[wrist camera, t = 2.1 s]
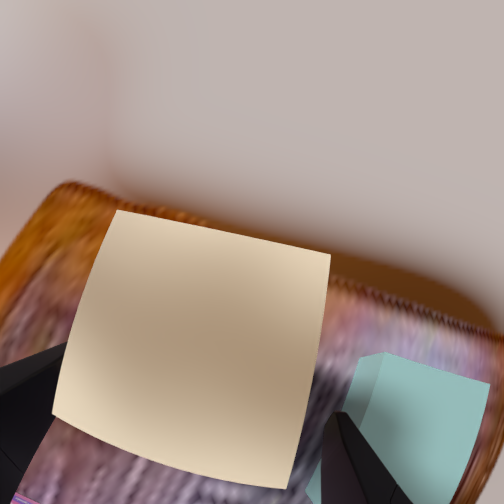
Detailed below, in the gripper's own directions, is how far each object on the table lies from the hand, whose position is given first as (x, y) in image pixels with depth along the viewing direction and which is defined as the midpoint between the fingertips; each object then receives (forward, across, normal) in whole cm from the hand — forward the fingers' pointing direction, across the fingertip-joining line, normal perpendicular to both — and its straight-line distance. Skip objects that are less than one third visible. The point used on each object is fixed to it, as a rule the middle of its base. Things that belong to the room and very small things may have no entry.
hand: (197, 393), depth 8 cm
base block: (+5, -13, +8) cm, 16 cm away
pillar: (+7, 0, +6) cm, 9 cm away
